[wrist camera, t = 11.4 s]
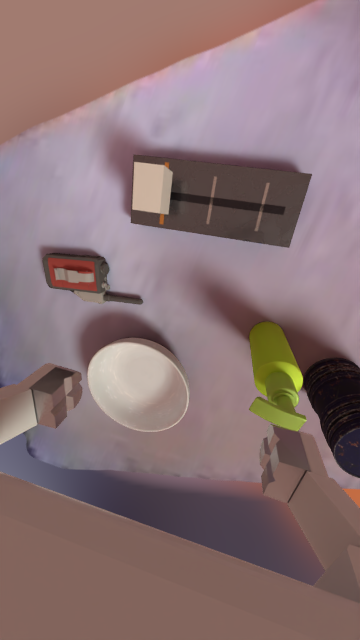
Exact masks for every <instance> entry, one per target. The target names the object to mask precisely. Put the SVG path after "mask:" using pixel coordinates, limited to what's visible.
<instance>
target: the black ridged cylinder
mask: <svg viewBox="0 0 360 640" xmlns="http://www.w3.org/2000/svg"><path fill="white" fill-rule="evenodd" d="M303 381H304V387H305V389H306V391H307V396H308V398H309V401H310V403H311V405H312V408H313V409H314V411H315V412H316V413H317V414H318V416H319V419H320V424H321V429H322V432H323V434H324V436H325V439H326V441H327V443H328V445H329V447H330V449H331V451H332V453H333V456H334V458H335V460H336V462H337V464H338V465H339V467H340V468H342V469H343V470H344V471H345V472H347V473H348V474H350V475H352V476H355V477H357V478H360V368H359V367H358V366H357V365H356V364H355V363H353V362H351V361H349V360H346V359H342V358H329V359H324V360H321V361H319V362H317V363H315V364H313V365H312V366H311V367H310V368H309V369H308V370H307V372H306V373H305V376H304V380H303Z"/></svg>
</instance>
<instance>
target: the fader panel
mask: <svg viewBox="0 0 360 640" xmlns="http://www.w3.org/2000/svg"><path fill="white" fill-rule="evenodd" d="M134 162H140V163H149V164H157V165H164V166H166V167H167V168H168V169H169V170H171V171H172V172H173V175H172V185H171V194H170V204H169V214H160V213H154V212H147V211H140V210H133V209H132V206H131V223H134V224H140V225H146V226H153V227H159V228H166V229H172V230H179V231H185V232H191V233H198V234H204V235H211V236H217V237H224V238H230V239H236V240H243V241H249V242H256V243H262V244H269V245H275V246H281V247H288V248H289V246H290V243H291V240H292V236H293V233H294V230H295V227H296V224H297V220H298V217H299V214H300V211H301V208H302V205H303V201H304V198H305V195H306V192H307V189H308V185H309V182H310V179H311V176H312V174H306V173H297V172H288V171H279V170H270V169H260V168H251V167H242V166H233V165H224V164H215V163H206V162H196V161H187V160H178V159H169V158H160V157H151V156H142V155H134V158H133V181H134ZM132 204H133V182H132Z"/></svg>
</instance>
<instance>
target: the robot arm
mask: <svg viewBox="0 0 360 640" xmlns="http://www.w3.org/2000/svg"><path fill="white" fill-rule="evenodd" d="M81 380H82V377H81V373H80V372H78V371H75V370H72V369H68V368H65V367H62V366H57V365H54V364H51V363H48V364H45V365H44V366H42V367H41V368H39V369H38V370H37V371H35V372H34V373H33V374H31V375H30V376H29V377H27V378H26V379H24V380H23V381H22V382H20V383H19V384H18V385H15V384H13V385H9V386H6V387H3V388H0V444H2V443H4V442H6V441H8V440H9V439H11V438H13V437H15V436H17V435H19V434H21V433H23V432H24V431H26V430H28V429H30V428H32V427H34V426H36V425H37V423H38V424H41V425H45V426H48V427H52V428H55V429H56V428H57V427H58V426H59V425H60V424H61V423H62V421H63V420H64V419H65V418H66V417H67V411H69V410H71V409H74V408H75V407H76V405H77V404H78V403H79V401H80V399H81V396H82V386H81V385H80V383H79V382H80V381H81ZM260 465H261V466H262V468H263V469H264V471H263V473H262V476H261V478H262V488H263V495H265V496H268V497H271V498H274V499H276V500H279V501H282V502H285V503H288V507H289V508H290V510H291V511H292V513H293V515H294V517H295V519H296V520H297V522H298V524H299V526H300V528H301V529H302V531H303V533H304V535H305V536H306V538H307V540H308V542H309V543H310V545H311V547H312V548H313V550H314V552H315V554H316V555H317V557H318V559H319V561H320V562H321V564H322V566H323V568H324V570H325V571H326V572H325V573H324V574H323V575H322V576H321V578H320V579H319V580H318V581H317V582H316V584H314V586H311V585H308V584H306V583H303V582H300V581H297V580H294V579H292V578H289V577H286V576H284V575H281V574H278V573H276V572H273V571H270V570H267V569H265V568H262V567H259V566H256V565H254V564H251V563H248V562H245V561H243V560H240V559H237V558H235V557H232V556H229V555H226V554H224V553H221V552H218V551H215V550H213V549H210V548H207V547H204V546H202V545H199V544H196V543H194V542H191V541H188V540H185V539H183V538H180V537H177V536H175V535H172V534H169V533H166V532H164V531H161V530H158V529H156V528H153V527H150V526H147V525H145V524H142V523H139V522H136V521H134V520H131V519H128V518H126V517H123V516H120V515H117V514H115V513H112V512H109V511H106V510H104V509H101V508H98V507H95V506H92V505H90V504H87V503H84V502H82V501H79V500H76V499H74V498H71V497H68V496H65V495H63V494H60V493H57V492H54V491H51V490H49V489H46V488H43V487H40V486H38V485H35V484H32V483H30V482H27V481H24V480H21V479H19V478H16V477H13V476H11V475H7V474H5V473H2V472H0V640H360V508H359V507H358V506H357V505H356V504H355V502H354V501H353V500H352V499H351V498H350V497H349V496H348V495H347V494H346V492H345V491H344V490H343V489H342V488H341V487H340V486H339V485H338V484H337V482H336V481H335V480H334V479H332V478H329V477H328V474H327V471H326V469H325V466H324V463H323V460H322V458H321V455H320V452H319V449H318V447H317V444H316V441H315V439H314V437H313V436H312V435H311V434H307V433H303V432H299V431H295V430H291V429H288V428H284V427H280V426H276V425H273V424H270V425H269V426H268V429H267V437H266V438H264V439H263V441H262V444H261V448H260Z"/></svg>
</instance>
